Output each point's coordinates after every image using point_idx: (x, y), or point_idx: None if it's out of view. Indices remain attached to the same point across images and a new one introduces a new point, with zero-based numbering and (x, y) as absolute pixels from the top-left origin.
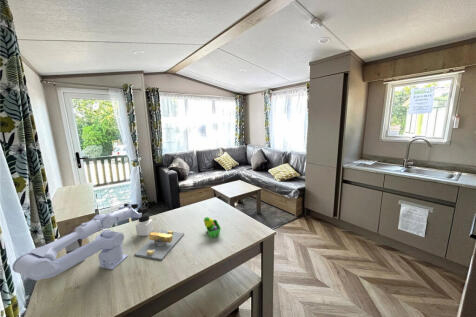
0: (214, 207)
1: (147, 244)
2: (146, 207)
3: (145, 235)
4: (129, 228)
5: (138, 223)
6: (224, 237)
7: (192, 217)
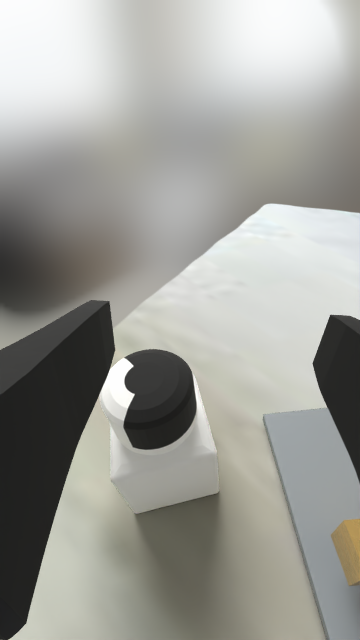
0: (321, 228)
1: (349, 630)
2: (343, 321)
3: (202, 496)
4: None
5: (125, 453)
6: None
7: (304, 287)
